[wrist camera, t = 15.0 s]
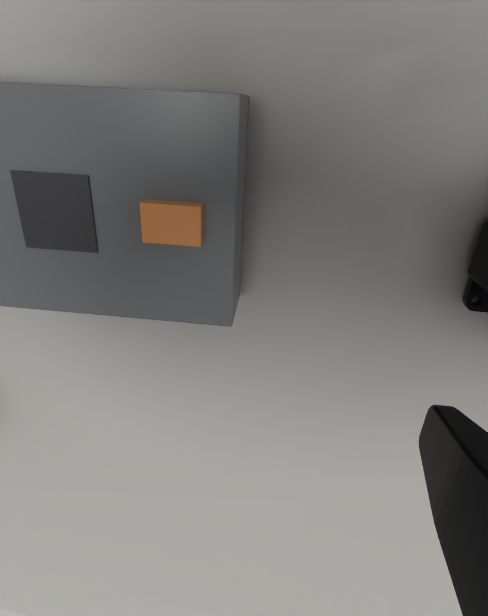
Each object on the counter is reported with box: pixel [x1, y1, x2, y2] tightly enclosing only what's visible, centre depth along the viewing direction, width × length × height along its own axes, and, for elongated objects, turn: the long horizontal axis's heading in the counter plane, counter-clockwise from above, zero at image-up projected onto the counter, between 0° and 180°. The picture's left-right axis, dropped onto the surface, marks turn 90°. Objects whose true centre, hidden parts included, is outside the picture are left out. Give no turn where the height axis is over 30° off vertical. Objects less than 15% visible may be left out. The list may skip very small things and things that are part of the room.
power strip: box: [0, 82, 249, 327], centre depth 18 cm, size 20×9×4 cm, turn 87°
